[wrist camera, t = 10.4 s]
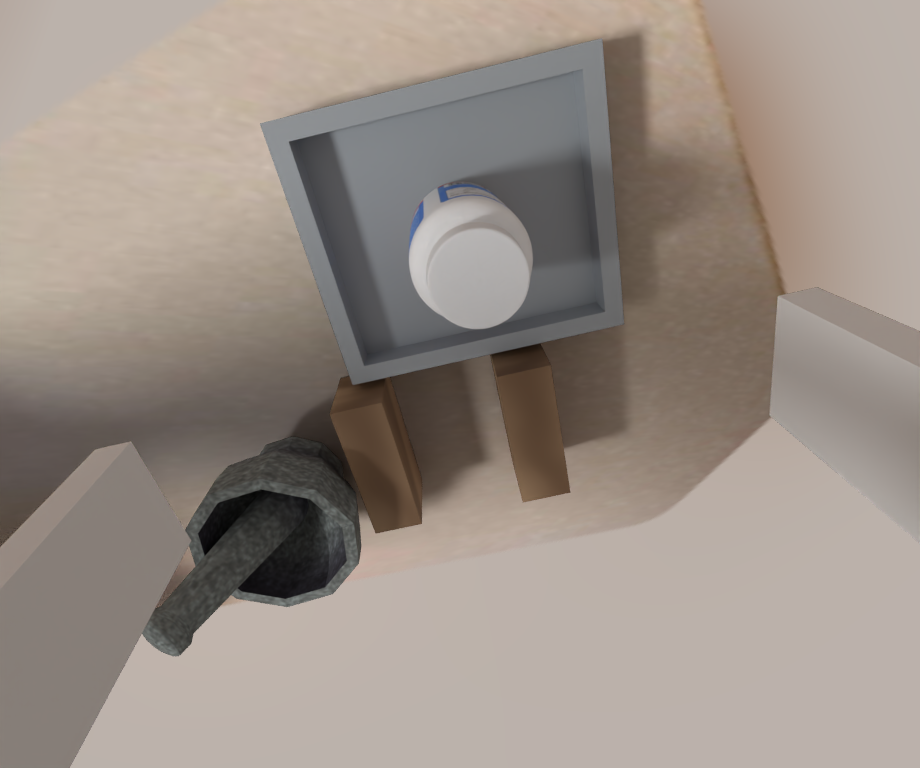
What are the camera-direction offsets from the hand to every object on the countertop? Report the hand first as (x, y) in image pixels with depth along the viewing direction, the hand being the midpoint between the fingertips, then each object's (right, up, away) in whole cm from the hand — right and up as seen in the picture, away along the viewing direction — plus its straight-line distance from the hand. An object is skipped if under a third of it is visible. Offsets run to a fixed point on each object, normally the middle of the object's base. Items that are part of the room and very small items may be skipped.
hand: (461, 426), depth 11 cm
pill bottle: (0, +9, +18) cm, 20 cm away
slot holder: (0, -1, +24) cm, 24 cm away
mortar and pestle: (-12, -5, +26) cm, 29 cm away
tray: (0, +10, +18) cm, 21 cm away
